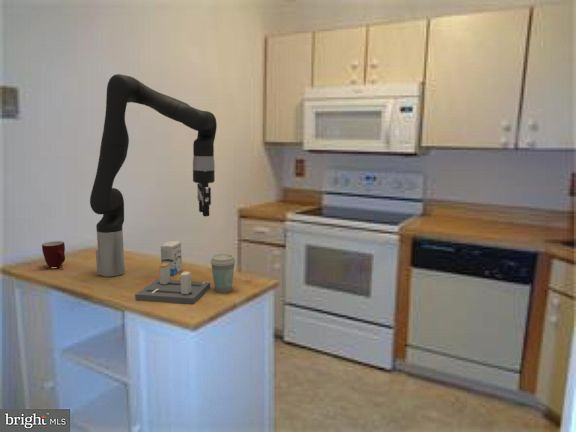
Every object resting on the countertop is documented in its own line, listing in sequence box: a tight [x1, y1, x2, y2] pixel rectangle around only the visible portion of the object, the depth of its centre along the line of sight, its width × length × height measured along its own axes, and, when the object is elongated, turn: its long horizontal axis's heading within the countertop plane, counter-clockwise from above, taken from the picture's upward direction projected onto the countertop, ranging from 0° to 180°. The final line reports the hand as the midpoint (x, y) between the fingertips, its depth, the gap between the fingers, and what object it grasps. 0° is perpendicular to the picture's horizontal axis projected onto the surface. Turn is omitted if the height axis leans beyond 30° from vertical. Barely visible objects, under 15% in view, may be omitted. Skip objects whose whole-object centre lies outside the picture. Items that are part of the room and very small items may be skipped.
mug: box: [41, 240, 66, 268], centre depth 179 cm, size 10×8×10 cm
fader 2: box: [180, 271, 192, 294], centre depth 145 cm, size 2×3×7 cm
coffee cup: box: [209, 253, 236, 294], centre depth 154 cm, size 9×8×12 cm
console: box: [134, 278, 211, 305], centre depth 151 cm, size 20×16×2 cm
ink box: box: [160, 240, 183, 276], centre depth 174 cm, size 9×5×12 cm, turn 168°
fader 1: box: [159, 263, 171, 284], centre depth 155 cm, size 2×3×7 cm
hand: (204, 214), depth 159 cm, fingers open, 8 cm apart
